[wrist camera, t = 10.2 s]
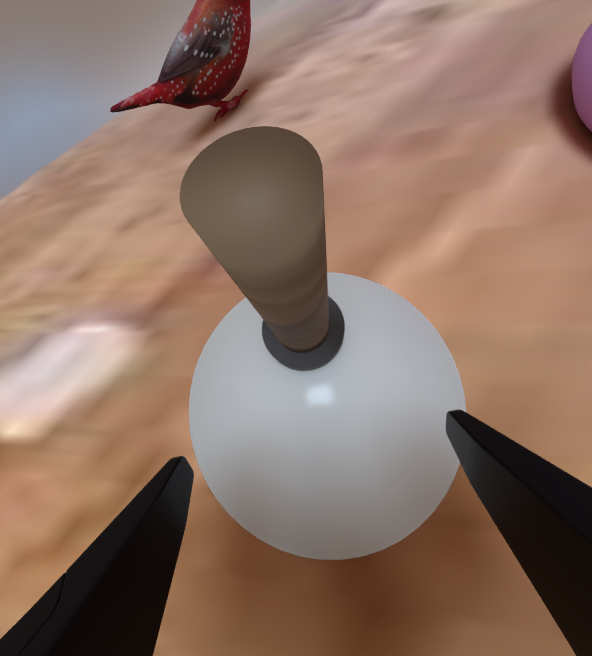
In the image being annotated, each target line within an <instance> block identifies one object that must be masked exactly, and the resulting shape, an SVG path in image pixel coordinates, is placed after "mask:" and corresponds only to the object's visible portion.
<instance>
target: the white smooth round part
mask: <svg viewBox="0 0 592 656" xmlns="http://www.w3.org/2000/svg"><path fill="white" fill-rule="evenodd" d="M327 282H328V296H329V297H331V298H332V299H333V300H334V301H335V302H336V304H337V305H338V306H339V308H340V310H341V312H342V314H343V317H344V323H345V332H344V338H343V343H342V346H341V348H340V350H339V352H338V353H337V355H336V356H335V357H334V358H333V359H332V360H331V361H330V362H329V363H327V364H326V365H324V366H322V367H320V368H317V369H315V370H310V371H298V370H293V369H290V368H288V367H286V366H284V365H282V364H281V363H280V362H278V361H277V360H276V359H275V358H274V357H273V356H272V355H271V354H270V353H269V351H268V350H267V348H266V346H265V344H264V341H263V337H262V322H263V319H262V317H261V316H260V315H259V313H258V312H257V311H256V310H255V308H254V307H253V306H252V304H251V303H250V302H249V300H248V299H247V298H245V299H243V300H242V301H241V302H240V303H239V304H237V305H236V306H235V307H234V308H233V309H232V310H231V311H230V312H229V313H228V314H227V315H226V316H225V317H224V318H223V319H222V321H221V322H220V323H219V324H218V326H217V327H216V328H215V330H214V331H213V333H212V334H211V336H210V338H209V339H208V341H207V343H206V344H205V346H204V349H203V351H202V353H201V355H200V358H199V360H198V363H197V366H196V369H195V372H194V376H193V380H192V386H191V391H190V401H189V424H190V433H191V439H192V445H193V449H194V452H195V455H196V459H197V462H198V465H199V467H200V470H201V472H202V474H203V476H204V479H205V481H206V483H207V485H208V486H209V488H210V489H211V491H212V493H213V494H214V496H215V498H216V499H217V500H218V502H219V503H220V504H221V505H222V507H223V508H224V509H225V510H226V512H227V513H228V514H229V515H230V516H231V517H232V518H233V519H234V520H235V521H236V522H237V523H238V524H240V525H241V526H242V527H243V528H244V529H245V530H247V531H248V532H249V533H251V534H252V535H254V536H255V537H257V538H258V539H259V540H261V541H263V542H265V543H267V544H269V545H271V546H273V547H275V548H277V549H279V550H282V551H285V552H288V553H291V554H294V555H297V556H300V557H306V558H312V559H318V560H344V559H350V558H357V557H363V556H366V555H369V554H372V553H375V552H378V551H381V550H384V549H386V548H388V547H389V546H391V545H393V544H395V543H397V542H399V541H401V540H403V539H404V538H405V537H407V536H408V535H409V534H411V533H412V532H413V531H415V530H416V529H417V528H419V527H420V526H421V525H422V524H423V523H424V522H425V521H426V520H427V519H428V518H429V517H430V515H431V514H432V513H433V512H434V511H435V510H436V508H437V507H438V506H439V504H440V503H441V501H442V500H443V498H444V497H445V496H446V494H447V492H448V490H449V488H450V486H451V484H452V482H453V480H454V478H455V476H456V473H457V470H458V467H459V464H460V461H459V459H458V457H457V455H456V453H455V451H454V449H453V447H452V445H451V442H450V440H449V438H448V436H447V434H446V414H447V412H448V411H452V410H457V409H460V410H463V411H465V412H466V406H465V396H464V391H463V387H462V383H461V379H460V375H459V372H458V370H457V367H456V364H455V362H454V359H453V357H452V355H451V353H450V351H449V349H448V348H447V346H446V344H445V342H444V340H443V339H442V337H441V336H440V335H439V333H438V332H437V330H436V329H435V328H434V326H433V325H432V324H431V323H430V322H429V320H428V319H427V318H426V317H425V316H424V315H423V314H422V313H421V312H420V311H419V310H418V309H417V308H415V307H414V306H413V305H412V304H411V303H410V302H408V301H407V300H406V299H404V298H403V297H401V296H400V295H398V294H397V293H395V292H394V291H392V290H390V289H388V288H386V287H384V286H382V285H380V284H378V283H375V282H373V281H370V280H367V279H364V278H361V277H357V276H353V275H348V274H341V273H333V272H327Z"/></svg>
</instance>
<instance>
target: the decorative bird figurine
mask: <svg viewBox="0 0 592 656" xmlns="http://www.w3.org/2000/svg"><path fill="white" fill-rule="evenodd" d="M250 32H251V18H250V0H197V1H196V3H195V5H194V8H193V10H192V12H191V14H190V15H189V17H188V18H187V20H186V22H185V23H184V25H183V26H182V28H181V29H180V31H179V33H178V34H177V36H176V38H175V40H174V42H173V44H172V46H171V48H170V50H169V52H168V55H167V57H166V59H165V62H164V65H163V67H162V70H161V73H160V76H159V79H158V81H157V83H155V84H153V85H151V86H150V87H148V88H145V89H144V90H142V91H141V92H138V93H136V94H134V95H133V96H130V97H128V98H127V99H125V100H123V101H121V102H119V103H118V104H116V105H114V106H112V107H111V110H110V111H111V112H121V111H125V110H129V109H134V108H138V107H142V106H148V105H150V104H156V103H165V104H171V105H175V106H179V107H182V108H186V109H192V108H195V107H198V106H203V105H211V106H214V107H221V108H222V109H220V110H219V111H218V112H217V114H216V117H215V121H216V120H217V117H218V115H219V116H220V118H222V117H223V116H224V115H225V114H226V113H227V112H228V111H229V110H230V109H233V108H235V107H236V106H237V105H238V104H239V102H240V99H241V98H242V96H243V95H244V94H245V93H246V92H247V91H248V90H245V91H244V92H243V93H242V94H241V95H240V96H235V97H234V98H233V99H232V100H231V101H221V100H222V99H223V98H225V97H226V96H227V95H228V94H229V93H230V91H231V90H232V89H233V88H234V86H235V85H236V83H237V81H238V80H239V78H240V76H241V73H242V70H243V68H244V65H245V62H246V59H247V54H248V49H249V43H250ZM221 113H222V114H221ZM220 114H221V115H220ZM215 121H214V122H215Z"/></svg>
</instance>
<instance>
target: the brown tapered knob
mask: <svg viewBox="0 0 592 656" xmlns="http://www.w3.org/2000/svg"><path fill="white" fill-rule="evenodd" d="M180 204H181V208H182V211H183V214H184V216H185V218H186V219H187V221H188V222H189V224H190V225H191V226H192V228H193V229H194V230H195V231H196V233H197V234H198V235H199V237H200V238H201V239H202V241H203V242H204V243H205V244H206V246H207V247H208V248H209V250H210V251H211V252H212V254H213V255H214V256H215V257H216V259H217V260H218V261H219V263H220V264H221V265H222V267H223V268H224V269H225V271H226V272H227V273H228V274H229V276H230V277H231V278H232V280H233V281H234V282H235V284H236V285H237V286H238V287H239V289H240V290H241V291H242V293H243V294H244V295H245V297H246V298H247V299H248V300H249V302H250V303H251V304H252V306H253V307H254V308H255V310H256V311H257V312H258V313H259V315H260V316H261V317H262V319H263V322H262V337H263V341H264V344H265V346H266V348H267V350H268V351H269V353H270V354H271V355H272V356H273V357H274V358H275V359H276V360H277V361H278V362H280V363H281V364H282V365H284V366H286V367H288V368H290V369H293V370H298V371H310V370H315V369H317V368H320V367H322V366H324V365H326V364H327V363H329V362H330V361H331V360H332V359H333V358H334V357H335V356H336V355H337V353H338V352H339V350H340V348H341V346H342V343H343V338H344V332H345V323H344V317H343V314H342V312H341V310H340V308H339V306H338V305H337V304H336V302H335V301H334V300H333V299H332V298H331V297H329V296H328V282H327V259H326V237H325V214H324V192H323V171H322V164H321V160H320V157H319V155H318V153H317V151H316V150H315V148H314V147H313V146H312V145H311V144H310V143H309V142H308V141H307V140H306V139H305V138H303V137H302V136H300V135H299V134H297V133H295V132H292V131H290V130H287V129H283V128H279V127H268V126H261V127H252V128H246V129H242V130H238V131H235V132H233V133H230V134H228V135H226V136H223V137H221V138H220V139H218V140H216V141H215V142H213V143H212V144H210V145H209V146H208V147H206V148H205V149H204V150H203V151H202V152H201V153H199V155H198V156H197V157H196V158H195V159H194V160H193V162H192V163H191V164H190V166H189V167H188V169H187V171H186V173H185V175H184V178H183V180H182V184H181V188H180Z"/></svg>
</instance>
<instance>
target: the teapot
mask: <svg viewBox="0 0 592 656" xmlns="http://www.w3.org/2000/svg"><path fill="white" fill-rule="evenodd" d="M572 93H573V101H574V105H575V109H576V111H577V113H578V115H579V117H580V119H581V120H582V122H583V123H584V124H585V126H586V127H587V128H588V129H589V130H590V131H591V132H592V23H591V25H590V26H589V27H588V29H587V30H586V32H585V33H584V35H583V36H582V38H581V39H580V42H579V44H578V47H577V49H576V52H575V55H574V58H573V64H572Z"/></svg>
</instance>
